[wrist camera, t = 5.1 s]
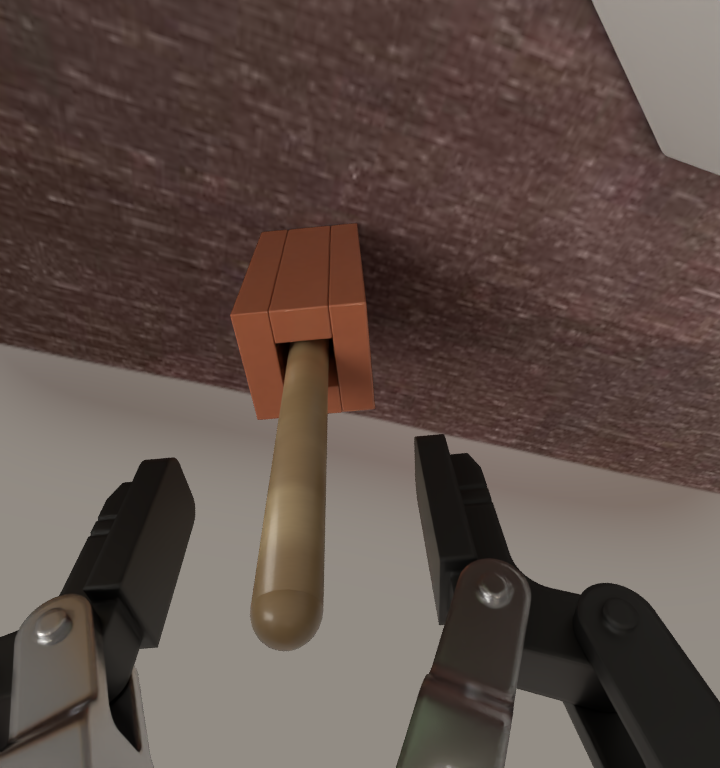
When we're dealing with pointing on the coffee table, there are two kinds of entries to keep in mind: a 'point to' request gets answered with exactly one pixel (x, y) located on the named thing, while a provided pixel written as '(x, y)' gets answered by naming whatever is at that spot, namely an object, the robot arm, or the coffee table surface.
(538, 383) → the coffee table surface
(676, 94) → the container
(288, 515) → the cooking stick
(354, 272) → the utensil block
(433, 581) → the robot arm
